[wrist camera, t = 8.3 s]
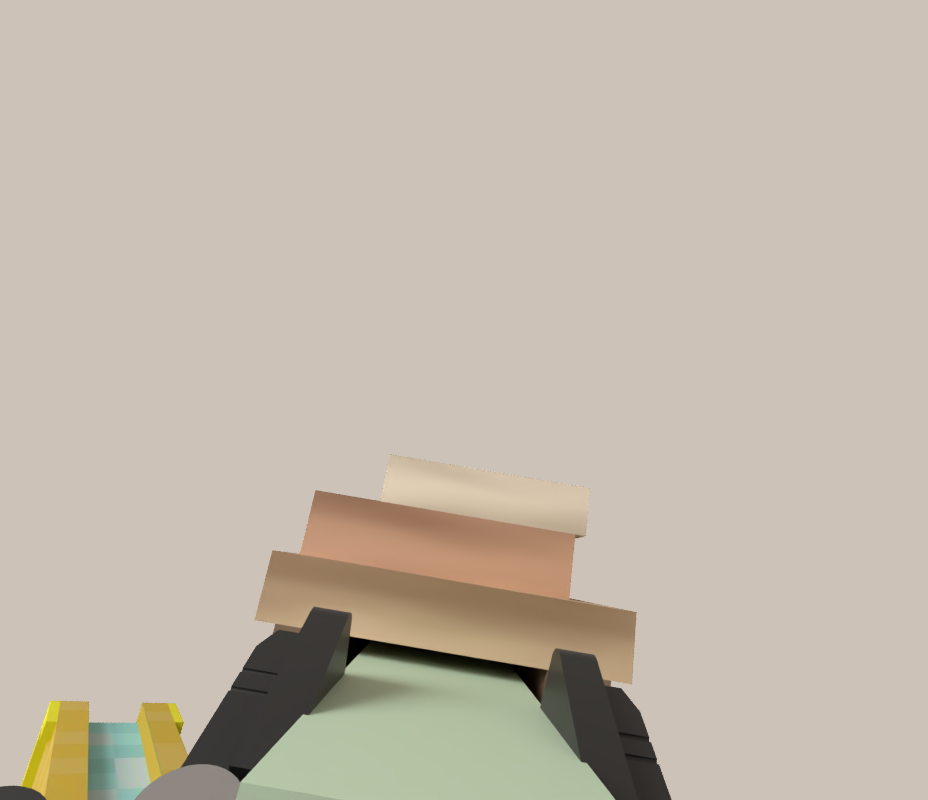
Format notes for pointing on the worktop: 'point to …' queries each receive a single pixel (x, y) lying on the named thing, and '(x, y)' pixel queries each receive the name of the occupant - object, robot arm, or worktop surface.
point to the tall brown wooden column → (452, 570)
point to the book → (103, 752)
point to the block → (423, 737)
